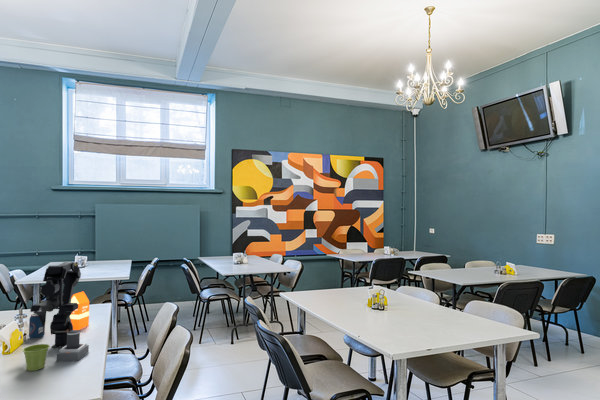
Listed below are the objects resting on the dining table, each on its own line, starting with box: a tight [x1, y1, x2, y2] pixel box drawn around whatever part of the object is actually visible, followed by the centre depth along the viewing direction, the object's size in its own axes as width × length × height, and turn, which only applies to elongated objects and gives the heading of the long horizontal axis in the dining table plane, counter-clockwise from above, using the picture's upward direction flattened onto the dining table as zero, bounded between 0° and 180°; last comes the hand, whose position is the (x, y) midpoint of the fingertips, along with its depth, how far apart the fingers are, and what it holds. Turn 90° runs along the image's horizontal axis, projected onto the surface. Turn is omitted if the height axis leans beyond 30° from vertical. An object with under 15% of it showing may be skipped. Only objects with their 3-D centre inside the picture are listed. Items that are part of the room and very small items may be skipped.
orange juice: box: [70, 291, 90, 331], centre depth 223 cm, size 8×9×20 cm
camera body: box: [55, 343, 90, 363], centre depth 177 cm, size 11×9×5 cm
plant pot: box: [22, 343, 50, 372], centre depth 164 cm, size 9×9×9 cm
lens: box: [67, 330, 81, 349], centre depth 177 cm, size 5×5×8 cm
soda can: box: [28, 313, 46, 340], centre depth 204 cm, size 7×7×12 cm
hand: (54, 325), depth 181 cm, fingers open, 9 cm apart
